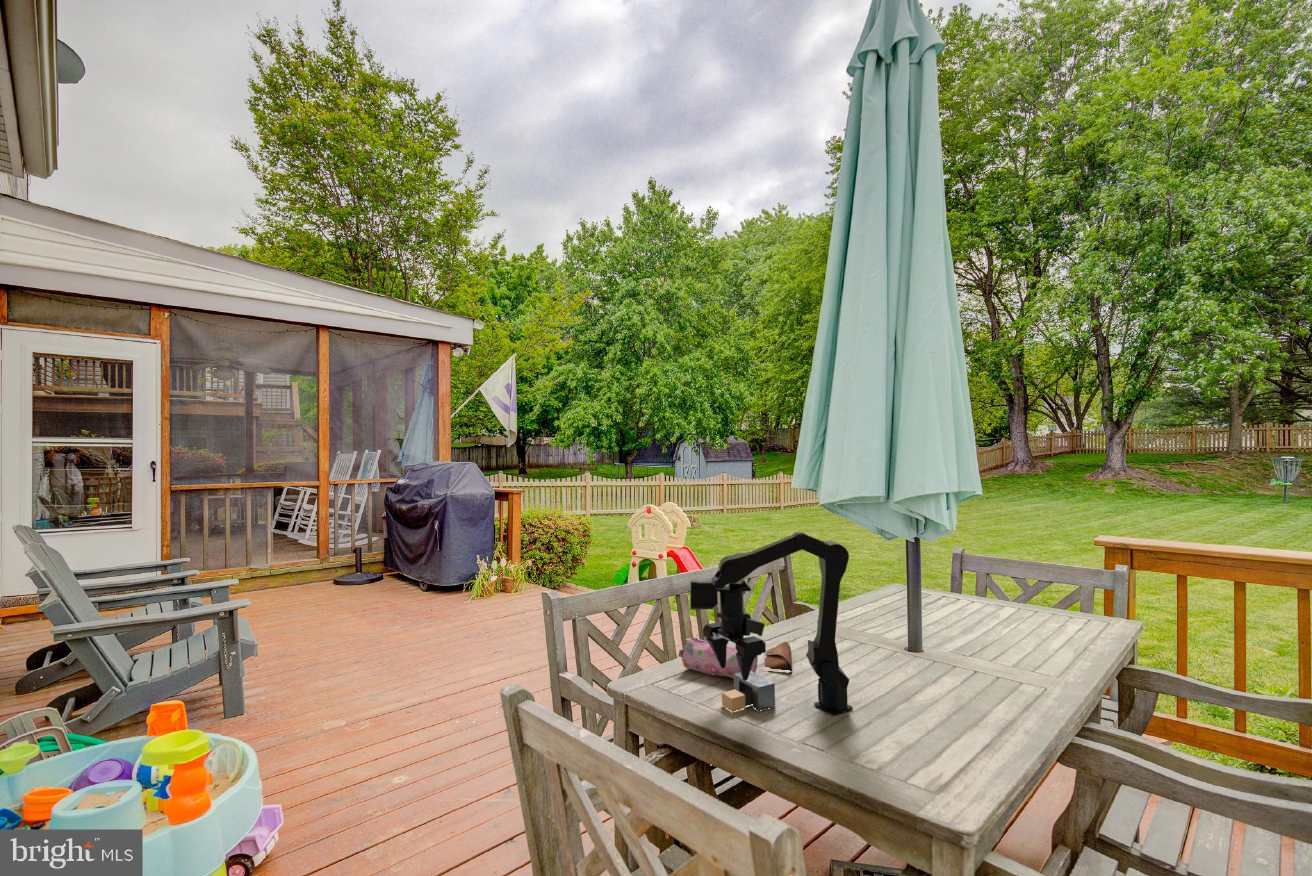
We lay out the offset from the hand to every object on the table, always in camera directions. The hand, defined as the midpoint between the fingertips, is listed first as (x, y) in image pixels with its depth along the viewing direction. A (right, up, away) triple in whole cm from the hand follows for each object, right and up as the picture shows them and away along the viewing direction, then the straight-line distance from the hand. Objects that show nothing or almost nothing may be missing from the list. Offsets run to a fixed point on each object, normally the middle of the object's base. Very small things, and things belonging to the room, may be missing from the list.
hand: (733, 673), depth 136 cm
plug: (+4, -8, +1) cm, 9 cm away
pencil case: (-1, -10, +21) cm, 23 cm away
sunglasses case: (+17, -10, +30) cm, 36 cm away
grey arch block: (+5, -8, +2) cm, 10 cm away
